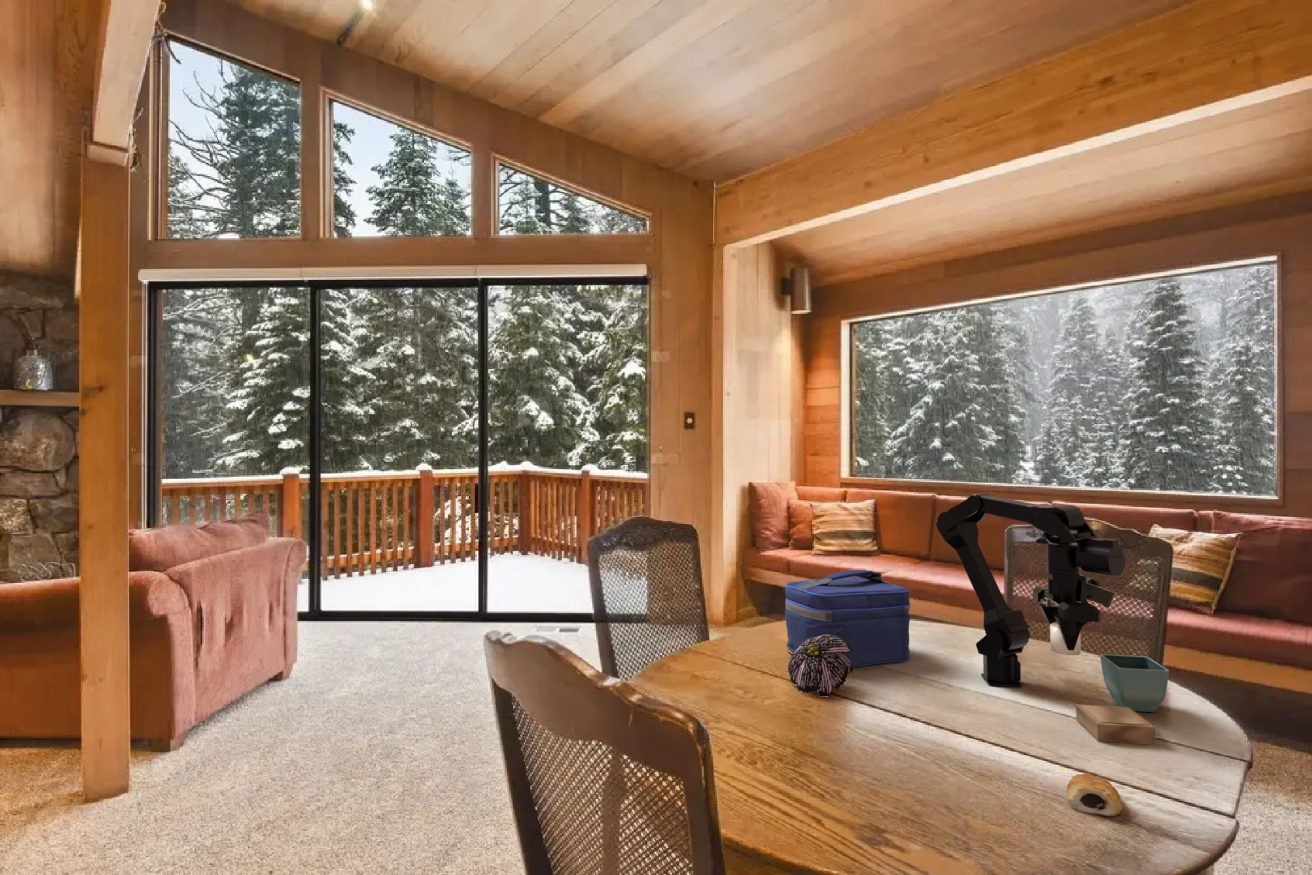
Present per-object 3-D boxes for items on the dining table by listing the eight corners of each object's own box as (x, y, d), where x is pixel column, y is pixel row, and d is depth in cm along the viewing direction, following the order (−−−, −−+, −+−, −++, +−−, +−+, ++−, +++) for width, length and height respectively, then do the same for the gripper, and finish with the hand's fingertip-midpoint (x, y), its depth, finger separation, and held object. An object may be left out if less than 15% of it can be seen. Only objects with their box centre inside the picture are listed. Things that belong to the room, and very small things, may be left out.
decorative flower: (768, 639, 151) (822, 613, 156) (773, 681, 155) (826, 653, 161) (810, 676, 138) (867, 646, 144) (814, 721, 143) (870, 689, 148)
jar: (1056, 654, 135) (1055, 627, 135) (1046, 646, 140) (1046, 620, 140) (1085, 655, 134) (1084, 628, 134) (1074, 647, 139) (1073, 621, 139)
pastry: (1067, 782, 106) (1067, 757, 106) (1120, 793, 103) (1119, 768, 103) (1067, 810, 98) (1066, 783, 98) (1123, 823, 95) (1123, 796, 95)
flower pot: (1171, 717, 129) (1170, 670, 129) (1119, 714, 131) (1118, 667, 131) (1148, 700, 138) (1147, 655, 138) (1099, 697, 140) (1098, 653, 140)
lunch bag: (878, 636, 186) (877, 561, 186) (932, 660, 166) (930, 575, 166) (775, 649, 176) (774, 569, 176) (819, 675, 156) (817, 585, 156)
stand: (1097, 741, 120) (1097, 723, 120) (1076, 720, 129) (1076, 703, 129) (1155, 744, 118) (1154, 726, 118) (1129, 723, 127) (1129, 706, 127)
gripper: (1130, 578, 127) (1132, 662, 127) (1088, 560, 145) (1089, 634, 145) (1064, 576, 129) (1066, 659, 129) (1031, 559, 147) (1032, 632, 147)
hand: (1065, 645), depth 137 cm, fingers closed on jar, 5 cm apart
